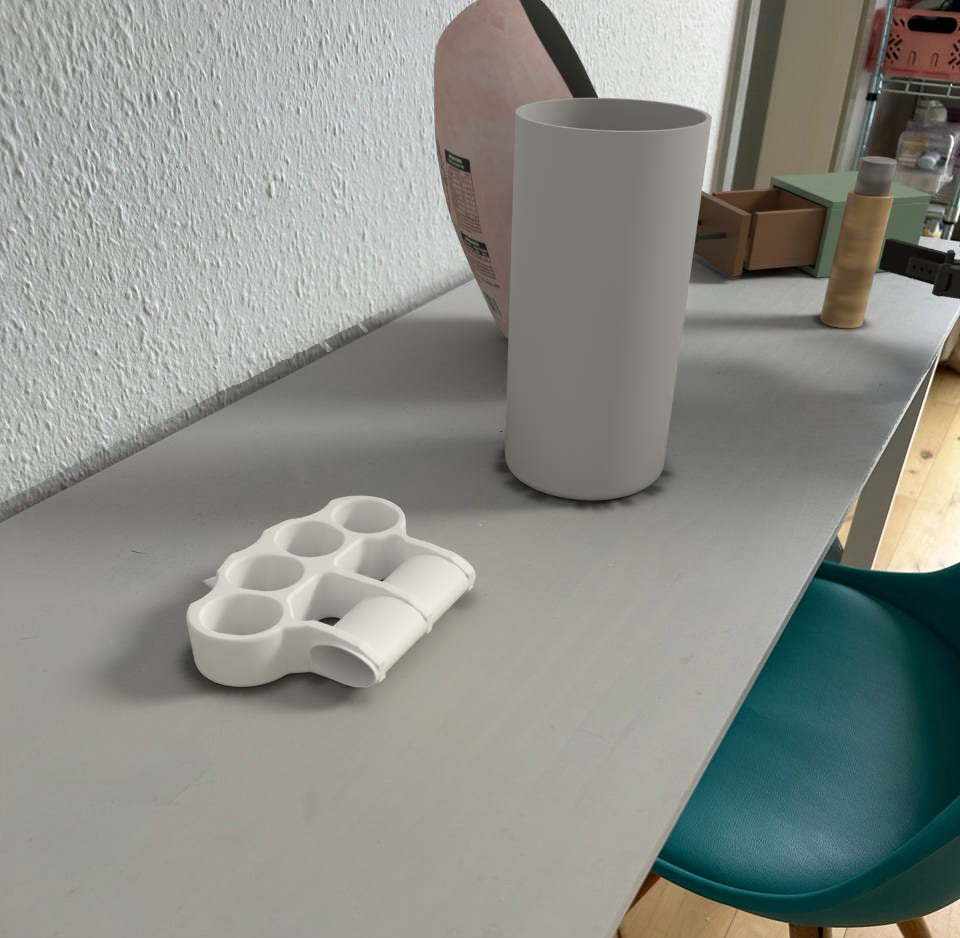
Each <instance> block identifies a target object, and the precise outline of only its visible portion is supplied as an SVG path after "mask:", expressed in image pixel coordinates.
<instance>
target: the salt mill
mask: <svg viewBox="0 0 960 938" xmlns="http://www.w3.org/2000/svg"><path fill="white" fill-rule="evenodd" d="M897 165H898V160H897V159H894V158H891V157H887V156H877V155H875V156H873V155H871V156H869V155H867V156H862V157H861V159H860V161H859V166H858V170H857V171H858V175H857V179H856V183H855V188H853V189H850V190H849V191H848V196H847V200H846V205H845V209H844V214H843V218H842V223H841V227H840V232H839V236H838V241H837V245H836V250H835V254H834V259H833V263H832V268H831V272H830V277H829V278H828V282H827V286H826V291H825V295H824V299H823V304H822V309H821V313H820V317H819V320H820V322H821V323H823V324H824V325H827V326H830V327H833V328H839V329H855V328H859V327H861V326H862V325H863V322H864V318H865V315H866V312H867V307H868V304H869V299H870V295H871V291H872V288H873V287H872V286H873V283H874V278H875V275H876V272H875V271H876V267H877V263H878V259H879V255H880V251H881V247H882V243H883V239H884V235H885V231H886V227H887V223H888V219H889V215H890V211H891V207H892V203H893V199H894V193H892V192H890V189H891V185H892V181H893V182H894V177H895V173H896V168H897Z"/></svg>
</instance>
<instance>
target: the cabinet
mask: <svg viewBox="0 0 960 938" xmlns="http://www.w3.org/2000/svg"><path fill="white" fill-rule="evenodd" d="M857 175H858V170H854V171H851V170H850V171H837V172H836V171H835V172H820V173H801V174H790V175H789V174H786V175H771V176H770V181H769V187H768V189H769V188H783V189H786V190H788V191H790V192H793V193H795V194H797V195H800V196H802V197H804V198H807V199H809V200H812V201H814V202H816V203H819V204H821V205H823V206H826V207H828V210H827V215H826V219H825V224H824V229H823V234H822V238H821V243H820V248H819V252H818V257H817V262H816V264H813V265H801V266H795V268H798V269H799V270H801V271H803V272H805V273H807V274H809V275H811V276H812V277H814V278H817V279H819V278H828V277H830V272H831V268H832V263H833V259H834V254H835V250H836V245H837V241H838V236H839V232H840V227H841V223H842V218H843V214H844V209H845V205H846V200H847V196H848V191H849V190H850V189H853V188H855V183H856V179H857ZM890 192H892V193H894V199H893V203H892V207H891V211H890V215H889V219H888V223H887V227H886V231H885V235H884V239H883V243H882V247H881V251H880V255H879V259H878V263H877V267H876V271H875V273H883V272H886V271H884V270H880V269H879V265H880V261H881V257H882V253H883V249H884V245H885V241H886V239H889V238H893V239H897V240H900V241H904V242H908V243H912V244H916V245H919V243H920V240H921V236H922V232H923V230H924V229H923V228H924V225H925V221H926V216H927V214H928V209H929V205H930V202H931V199H932V194H930V193H928V192H924V191H921V190H918V189H916V188H913V187H910V186H907V185H905V184H901V183H899V182H896V181H894V180H893V181H892V185H891V189H890Z"/></svg>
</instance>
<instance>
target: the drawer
mask: <svg viewBox="0 0 960 938" xmlns="http://www.w3.org/2000/svg"><path fill="white" fill-rule="evenodd" d="M827 210H828V207H826V206H823V205H821V204H819V203H816V202H814V201H812V200H809V199H807V198H804V197H802V196H800V195H797V194H795V193H793V192H790V191H788V190H786V189H783V188H769V187H768V188H756V189H741V190H738V189H737V190H725V191H713V192H711V194H710V193H708V192H706V191H703V190H702V193H701V201H700V208H699V215H698V222H697V230H696V237H695V244H694V251H693V254H694V255H696V256H698V257H700V258H701V259H703V260H705V261H707V262H708V263H710V264H712V265H713V266H715V267H717V268H719V269H720V270H721V271H723V272H725V273H727V274H728V275H730V276H732V277H735V276H741V275H742V273H743V268H744V269H745V270H748V271H753V270H755V271H756V270H764V269H765V270H766V269H767V270H768V269H776V268H777V269H778V268H788V267H796V266H801V265H813V264H816V262H817V257H818V252H819V248H820V243H821V238H822V234H823V229H824V224H825V219H826V215H827Z"/></svg>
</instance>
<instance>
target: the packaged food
mask: <svg viewBox="0 0 960 938" xmlns="http://www.w3.org/2000/svg"><path fill="white" fill-rule="evenodd" d="M570 98H599V96H598V94H597V91H596V89H595V87H594V85H593V83H592V81H591V79H590V76H589V75H588V72H587V70H586V68H585V65H584V64H583V62H582V60H581V58H580V56H579V54H578V52H577V50H576V48H575V47H574V45H573V44H572V42H571V40H570V38H569V36H568V34H567V33H566V30H564V28H563V26H562V25H561V23H560V22H559V20H558V19H557V17H556V15H555V14H554V12H552V11H551V9H550V8H549V6H548V5H546V3H545V2H544V1H543V0H476V1H473V2H472V3H470V4H469V5H467V6H466V7H464V9H462V10H461V11H460V12H459V13H458V14H457V15H456V16H455V17H454V18H453V19H452V20H451V21H450V22H449V23H448V25H447V26H446V27H445V29H443V31H442V32H441V34H440V36H439V38H438V40H437V44H436V47H435V53H434V63H433V117H434V118H433V122H434V124H433V125H434V137H435V138H434V139H435V148H436V156H437V163H438V168H439V174H440V180H441V184H442V189H443V190H442V191H443V194H444V199H445V203H446V207H447V210H448V213H449V217H450V219H451V223H452V227H453V228H454V231H455V234H456V236H457V239H458V242H459V244H460V246H461V249H462V251H463V254H464V256H465V259H466V260H467V263H468V266H469V267H470V270H471V272H472V274H473V277H474V279H475V282H476V284H477V286H478V288H479V290H480V293H481V294H482V297H483V298H484V301H485V303H486V305H487V307H488V310H489V311H490V313H491V315H492V317H493V320H494V321H495V323H496V324H497V326H498V328H499V330H500V331H501V333H502V334H503V335H504V336H505V338H506V339H507V340H508V339H509V306H510V274H511V241H512V208H513V176H514V143H515V111H516V109H517V108H519V107H521V106H523V105H526V104H530V103H534V102H540V101H547V100H556V99H570Z"/></svg>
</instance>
